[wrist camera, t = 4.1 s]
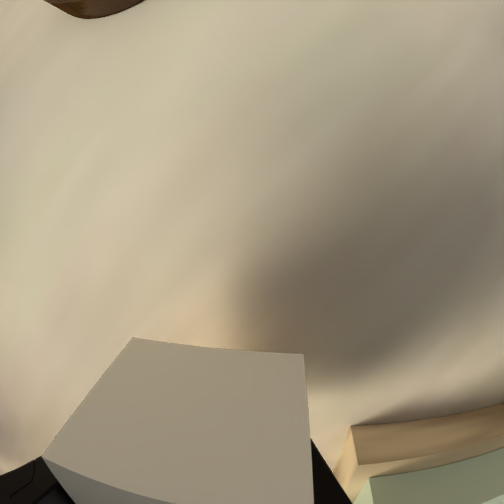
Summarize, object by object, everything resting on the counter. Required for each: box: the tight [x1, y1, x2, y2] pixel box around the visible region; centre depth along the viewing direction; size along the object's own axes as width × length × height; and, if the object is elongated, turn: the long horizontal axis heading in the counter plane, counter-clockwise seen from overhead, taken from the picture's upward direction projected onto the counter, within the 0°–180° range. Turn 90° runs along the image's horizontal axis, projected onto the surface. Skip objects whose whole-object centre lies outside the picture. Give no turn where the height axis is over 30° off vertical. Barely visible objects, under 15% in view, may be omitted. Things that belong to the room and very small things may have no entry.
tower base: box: [333, 403, 504, 503], centre depth 12 cm, size 11×11×3 cm
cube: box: [41, 337, 314, 504], centre depth 7 cm, size 5×5×5 cm
